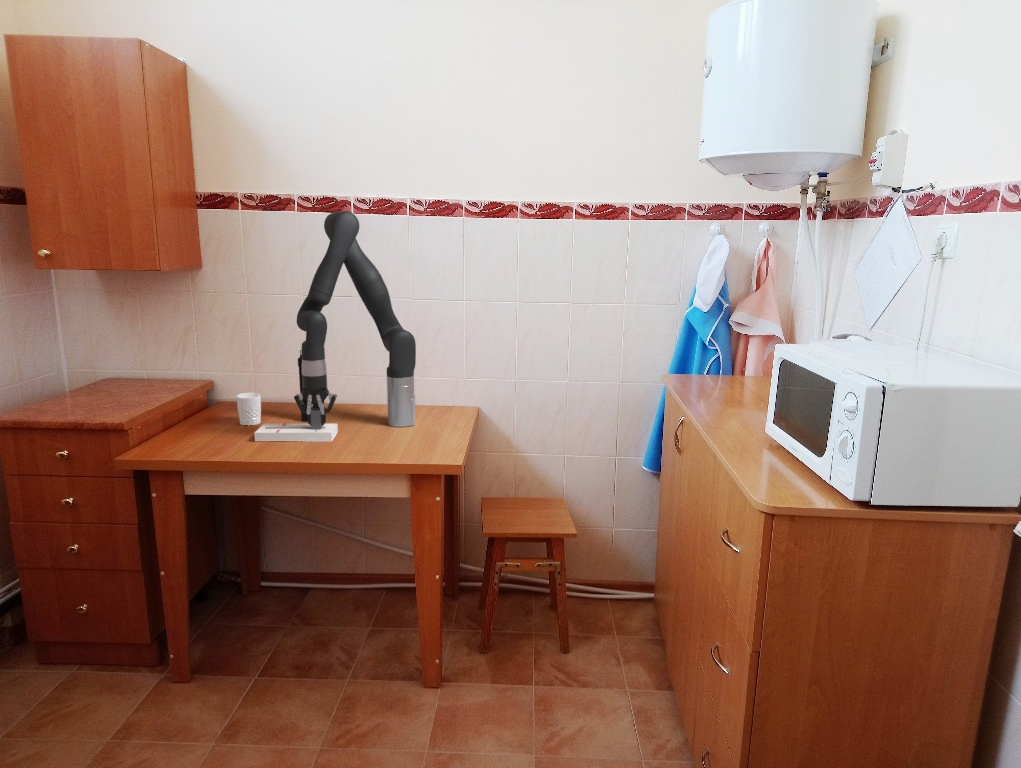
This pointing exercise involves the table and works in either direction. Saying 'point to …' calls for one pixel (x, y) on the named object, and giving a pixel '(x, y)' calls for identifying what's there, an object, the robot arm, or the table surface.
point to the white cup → (249, 408)
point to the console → (296, 433)
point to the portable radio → (303, 415)
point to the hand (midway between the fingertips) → (317, 424)
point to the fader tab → (316, 418)
